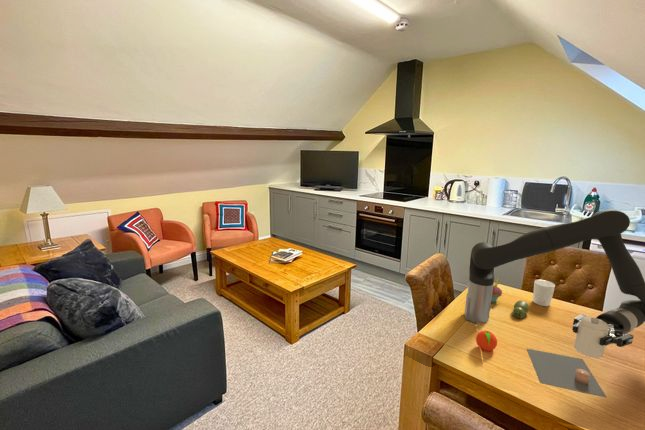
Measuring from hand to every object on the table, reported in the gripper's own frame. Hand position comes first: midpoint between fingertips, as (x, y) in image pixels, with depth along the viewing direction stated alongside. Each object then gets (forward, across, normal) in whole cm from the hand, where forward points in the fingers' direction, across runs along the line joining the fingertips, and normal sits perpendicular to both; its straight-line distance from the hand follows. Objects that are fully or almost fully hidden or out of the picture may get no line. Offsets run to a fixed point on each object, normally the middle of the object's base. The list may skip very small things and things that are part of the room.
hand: (587, 335), depth 97 cm
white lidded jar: (-2, 0, +6) cm, 6 cm away
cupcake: (-23, -49, +18) cm, 57 cm away
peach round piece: (-2, 0, +17) cm, 17 cm away
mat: (-2, -5, +17) cm, 18 cm away
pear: (-24, -35, +18) cm, 46 cm away
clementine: (+11, -24, +18) cm, 32 cm away
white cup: (-43, -37, +18) cm, 59 cm away
